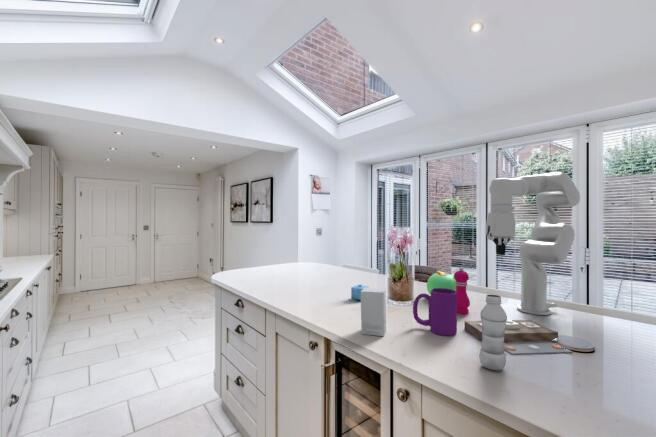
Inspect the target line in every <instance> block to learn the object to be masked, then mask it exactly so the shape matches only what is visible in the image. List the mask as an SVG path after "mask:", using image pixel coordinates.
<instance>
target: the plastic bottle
mask: <svg viewBox="0 0 656 437" xmlns="http://www.w3.org/2000/svg"><path fill="white" fill-rule="evenodd" d="M485 303H486V304H485V305H484V306H483V308H482V309H481V310H480V321H481V323H482V341H481V346H480V347H481V348H480V351H479V362H480V364H481V366H482V367H484V368H486V369H487V370H490V371H491V370H492V371H503V369H504V370H505V367H506V366H507V364H506V363H507V355H506V353H505V352H506V351H505V348H504V344H505V343H504V334H505V326H506V321H507V320H508V315H507V312H506V311H505V309H504V308H503V307H502V296H501V295H497V294H491V293H490V294H486V295H485Z"/></svg>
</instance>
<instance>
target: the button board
mask: <svg viewBox="0 0 656 437" xmlns="http://www.w3.org/2000/svg"><path fill="white" fill-rule="evenodd" d="M511 320H512V321H514V322H516V323H518V324H519V329H506V328H505V334H504V344H507V343H543V342H553V341H552V340H553V339H555V338H558V339H559V332H558V331H556V330H555V329H552V328H549V327H547V326H545V325H543V324H541V323H538V322H536V321H533V319H511ZM529 322H531V323H534V324H536V325H538V326H540V328H530V329H529V328H526V327H524V326H522V325H520V323H529ZM479 323H481V320H464V330H466V331H467V332H468V333H469V334H472V335H473V336H474V337H476V338H477V339H478V340H480V341H481V342H482V327H480V326H479V325H478V324H479Z"/></svg>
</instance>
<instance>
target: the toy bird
mask: <svg viewBox="0 0 656 437" xmlns="http://www.w3.org/2000/svg"><path fill="white" fill-rule="evenodd" d="M455 281H456V280H455V279H454V274H451V273H447V272H444V271H440V270H436V272H435V273H433V274H432V275H430V276H429V278H428V280H427V282H426V289H427V291H428V295H429V296H431V290H432V289H434V288H446V289H451V290H455V291H456V285H455Z"/></svg>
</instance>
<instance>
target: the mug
mask: <svg viewBox="0 0 656 437" xmlns="http://www.w3.org/2000/svg"><path fill="white" fill-rule="evenodd" d="M423 298H424V299H426V301H428V319H422V318H420V317H419V314H418V306H419V302H420V301H421V300H420V299H423ZM412 314H413V318H414V320H415V322H416V323H417V324H419V325H421V326H424V327H430V331H431V332H432V333H434V334H435V335H439V336H444V337H449V336H450V337H451V336H454V335H456V334H457V332H458V329H457V327H458V325H457V323H458V314H457V292H456V291H455V290H451V289H446V288H434V289H432V290H431V295H430V294H429V293H428V294H427V293H420V294H418V295H417V296H416V297H415V299H414V300H413V306H412Z"/></svg>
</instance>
